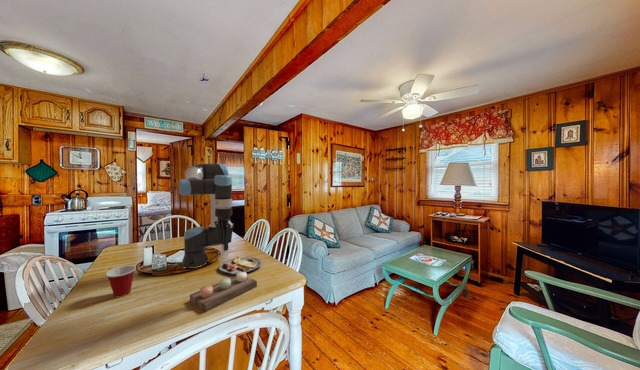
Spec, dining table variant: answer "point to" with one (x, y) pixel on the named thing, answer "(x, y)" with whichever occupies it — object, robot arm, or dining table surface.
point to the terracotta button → (206, 291)
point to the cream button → (241, 277)
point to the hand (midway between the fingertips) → (224, 256)
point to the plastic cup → (121, 279)
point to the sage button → (225, 283)
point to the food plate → (240, 265)
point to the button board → (222, 294)
